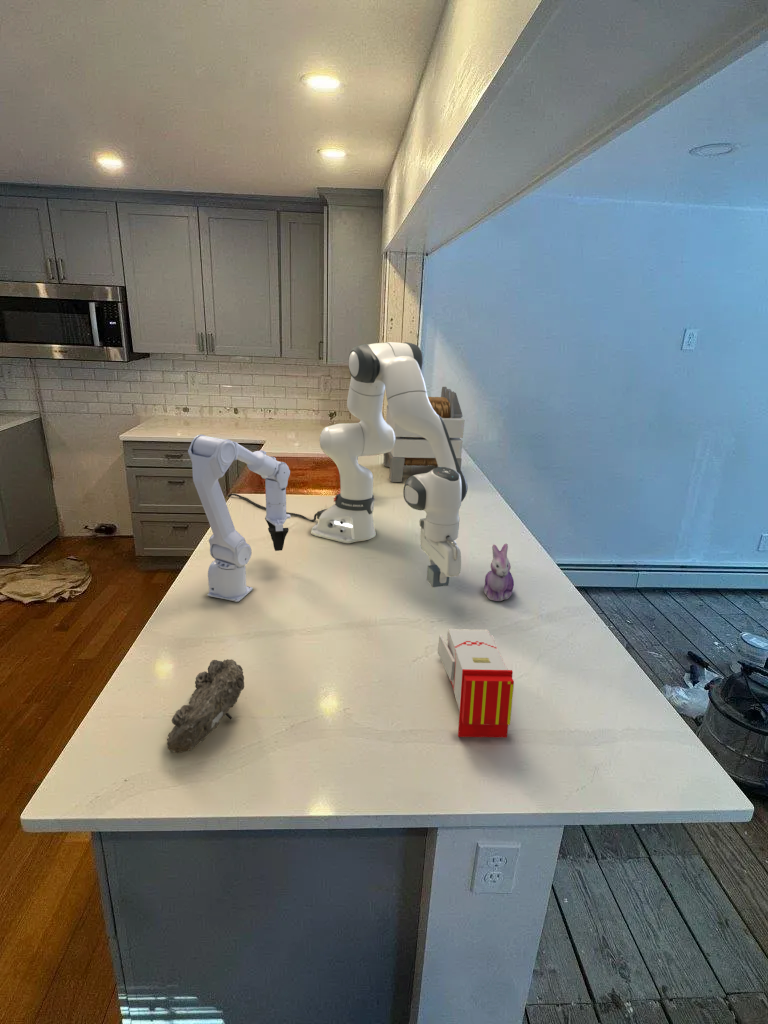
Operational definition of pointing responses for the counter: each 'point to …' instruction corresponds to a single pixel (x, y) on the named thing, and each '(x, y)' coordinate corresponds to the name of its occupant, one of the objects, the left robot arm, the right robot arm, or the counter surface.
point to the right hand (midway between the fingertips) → (437, 577)
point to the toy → (478, 682)
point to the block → (435, 576)
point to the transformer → (416, 447)
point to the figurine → (499, 576)
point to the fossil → (206, 705)
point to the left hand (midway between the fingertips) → (277, 545)
